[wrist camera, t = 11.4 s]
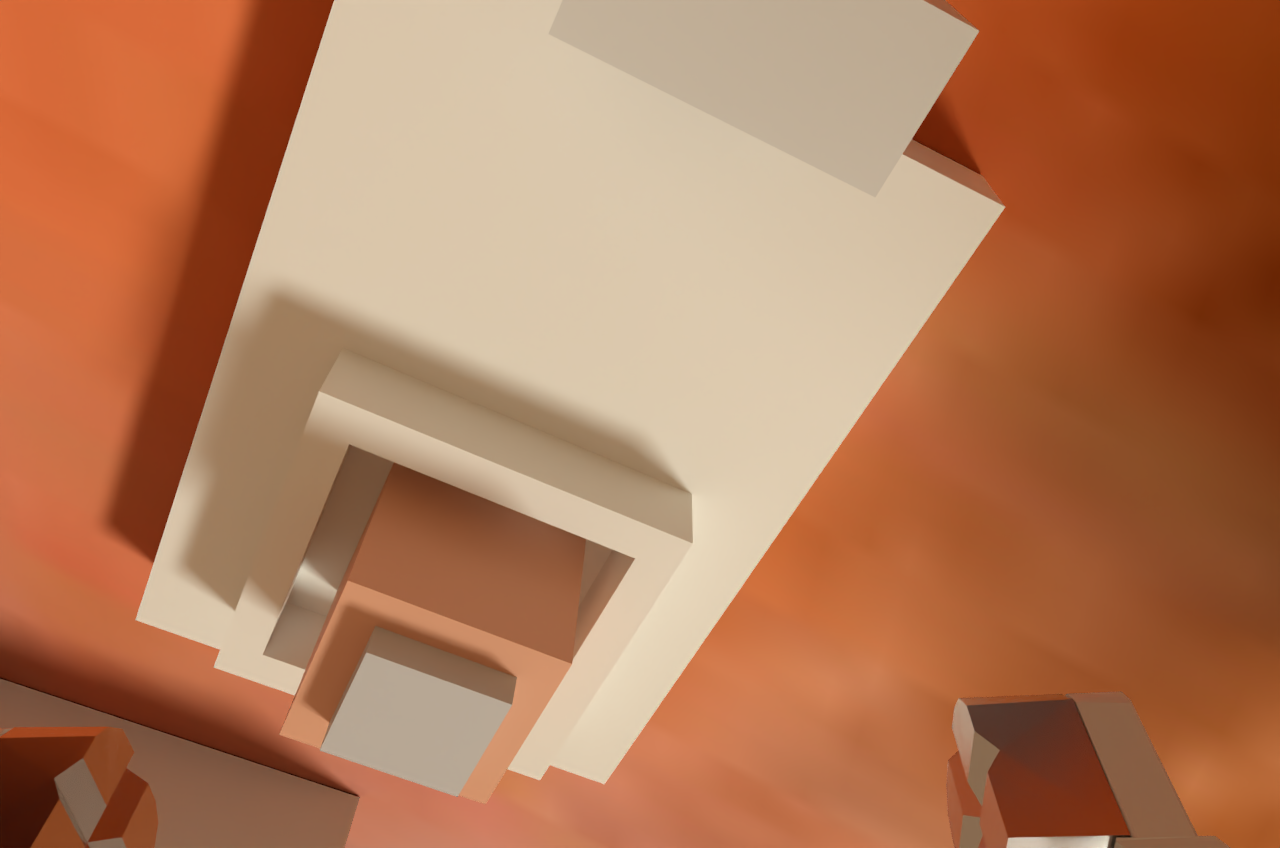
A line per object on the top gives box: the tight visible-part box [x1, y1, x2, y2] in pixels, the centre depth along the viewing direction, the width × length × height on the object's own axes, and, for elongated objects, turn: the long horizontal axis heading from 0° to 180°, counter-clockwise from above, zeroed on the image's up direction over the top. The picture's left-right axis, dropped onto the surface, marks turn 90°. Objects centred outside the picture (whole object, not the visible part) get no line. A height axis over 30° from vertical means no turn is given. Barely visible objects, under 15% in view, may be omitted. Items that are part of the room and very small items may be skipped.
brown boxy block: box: [279, 462, 586, 804], centre depth 26 cm, size 5×5×6 cm
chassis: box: [136, 0, 1005, 784], centre depth 25 cm, size 14×23×6 cm, turn 154°
